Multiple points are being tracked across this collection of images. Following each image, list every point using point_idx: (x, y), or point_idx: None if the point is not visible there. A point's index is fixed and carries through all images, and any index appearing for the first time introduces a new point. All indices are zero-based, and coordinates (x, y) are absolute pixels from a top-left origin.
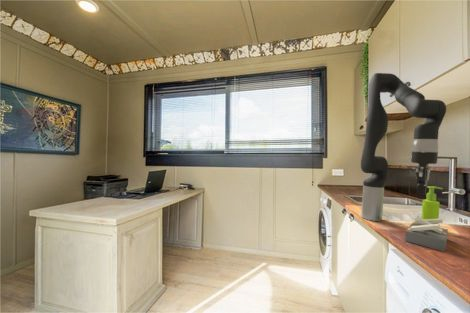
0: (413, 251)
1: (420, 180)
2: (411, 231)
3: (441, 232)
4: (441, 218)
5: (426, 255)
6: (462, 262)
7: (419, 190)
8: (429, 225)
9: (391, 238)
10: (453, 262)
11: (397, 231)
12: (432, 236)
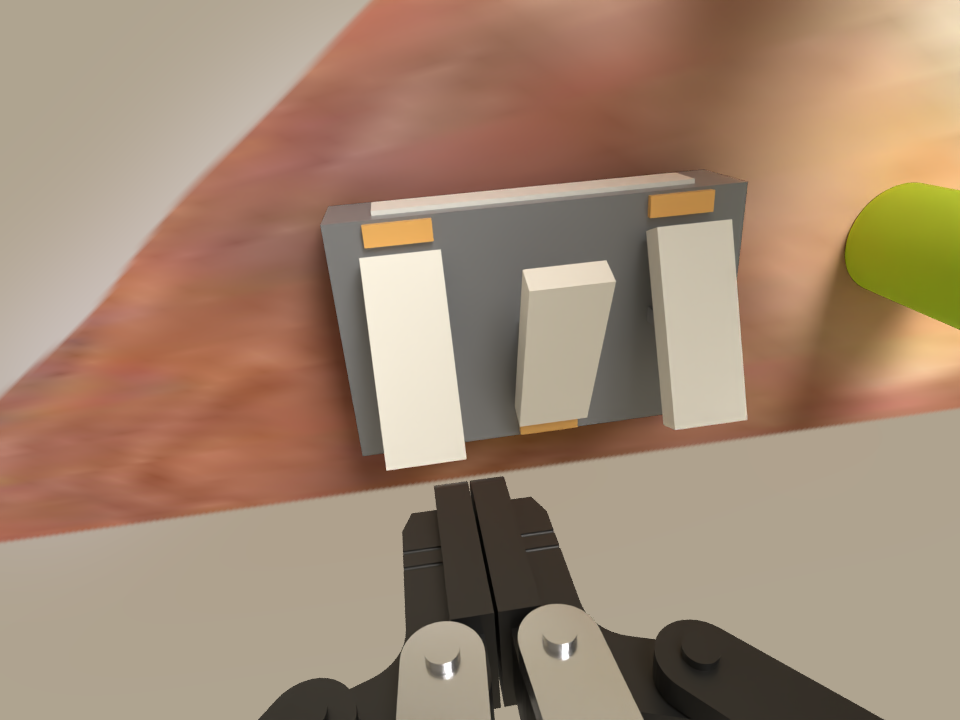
0: (142, 304)
1: (685, 714)
2: (357, 260)
3: (518, 417)
4: (740, 420)
5: (160, 370)
6: (268, 495)
7: (405, 569)
8: (415, 399)
9: (274, 112)
10: (213, 473)
11: (555, 86)
12: None
